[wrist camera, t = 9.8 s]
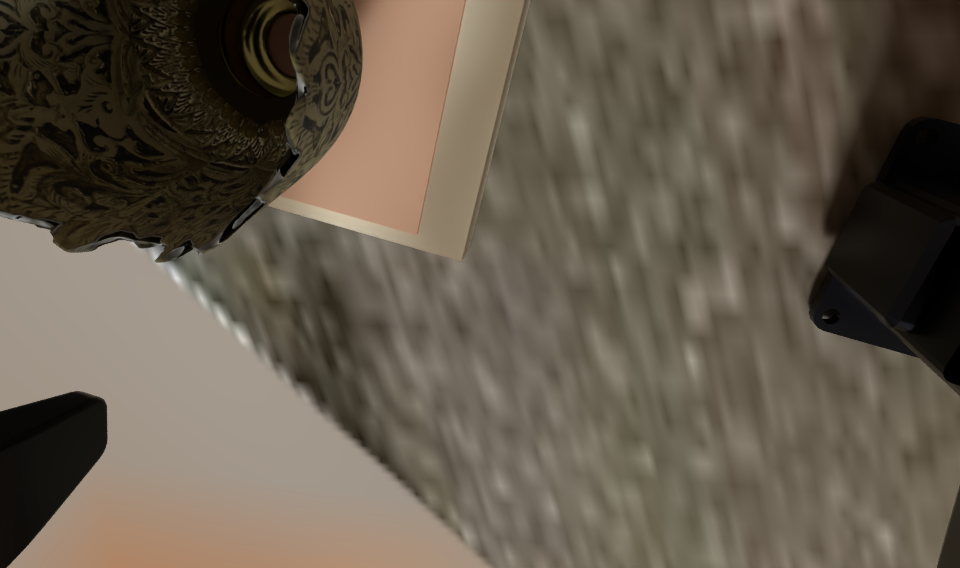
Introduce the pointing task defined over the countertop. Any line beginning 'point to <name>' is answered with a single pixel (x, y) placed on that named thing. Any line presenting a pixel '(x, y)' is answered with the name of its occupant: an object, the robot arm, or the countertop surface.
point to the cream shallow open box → (414, 121)
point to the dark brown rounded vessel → (165, 114)
